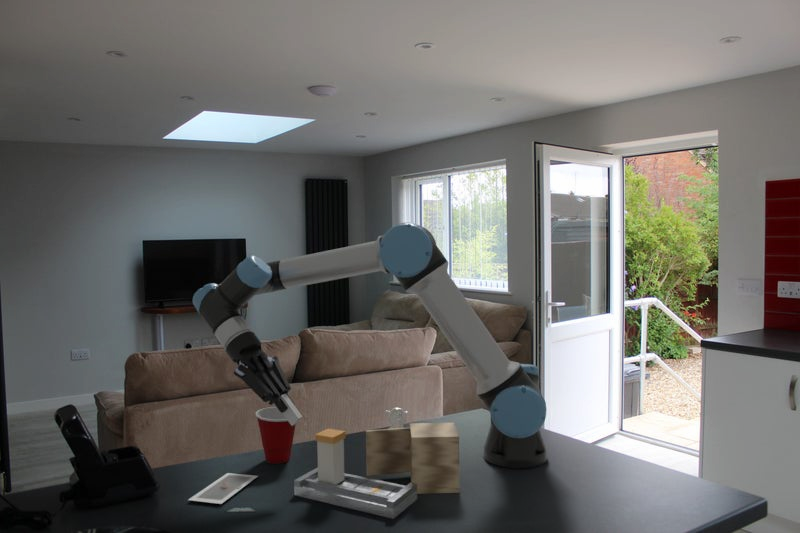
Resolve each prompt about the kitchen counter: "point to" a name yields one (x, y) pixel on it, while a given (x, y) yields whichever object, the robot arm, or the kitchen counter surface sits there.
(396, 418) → the sitting furry creature
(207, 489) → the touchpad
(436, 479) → the wooden cabinet
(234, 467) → the kitchen counter surface
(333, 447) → the fader knob
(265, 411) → the plastic cup
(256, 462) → the kitchen counter surface
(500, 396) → the robot arm
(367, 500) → the fader track
